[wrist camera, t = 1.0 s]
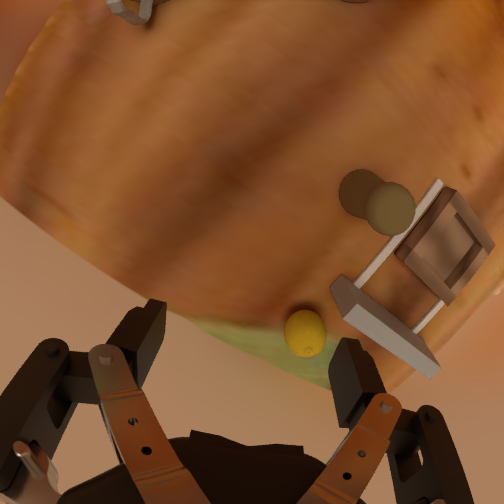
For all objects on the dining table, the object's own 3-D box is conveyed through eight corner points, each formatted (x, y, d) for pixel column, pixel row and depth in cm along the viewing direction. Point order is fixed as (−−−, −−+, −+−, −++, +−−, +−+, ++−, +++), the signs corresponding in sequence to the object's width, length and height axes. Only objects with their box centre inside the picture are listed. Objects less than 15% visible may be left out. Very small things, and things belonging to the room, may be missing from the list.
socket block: (445, 186, 34) (457, 190, 31) (484, 238, 36) (495, 244, 33) (394, 253, 37) (402, 261, 35) (438, 297, 39) (447, 306, 37)
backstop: (427, 166, 33) (460, 173, 26) (492, 252, 37) (522, 271, 29) (329, 287, 40) (342, 318, 32) (411, 348, 43) (430, 379, 36)
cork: (387, 210, 36) (427, 235, 25) (344, 221, 37) (373, 252, 26) (378, 164, 34) (420, 174, 24) (333, 175, 35) (361, 188, 24)
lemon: (275, 311, 41) (276, 347, 34) (310, 292, 40) (319, 325, 33) (294, 338, 43) (299, 375, 35) (327, 321, 42) (338, 356, 34)
